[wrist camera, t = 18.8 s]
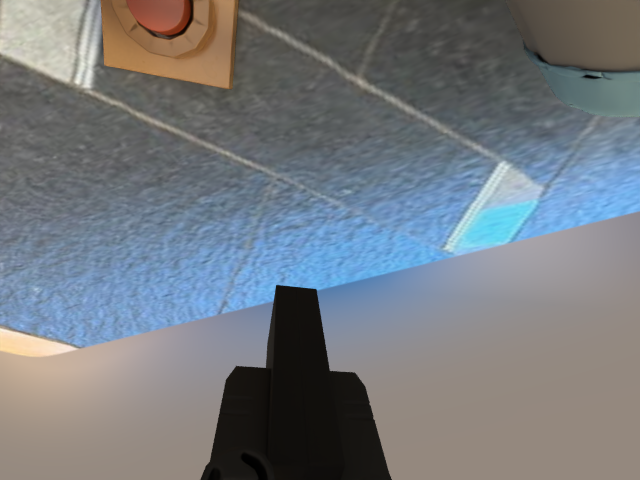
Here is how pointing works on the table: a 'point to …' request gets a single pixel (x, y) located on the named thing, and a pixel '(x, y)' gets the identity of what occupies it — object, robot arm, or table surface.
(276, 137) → the table surface
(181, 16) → the button
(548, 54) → the robot arm
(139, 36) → the button block
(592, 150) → the table surface
